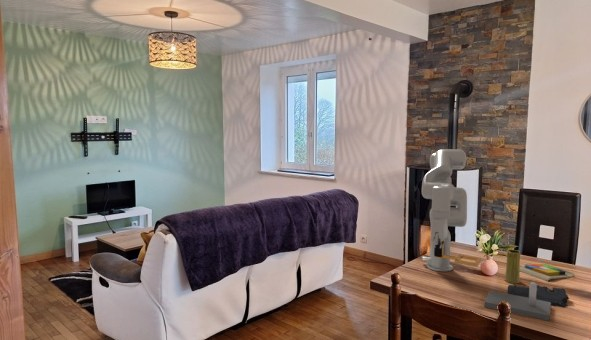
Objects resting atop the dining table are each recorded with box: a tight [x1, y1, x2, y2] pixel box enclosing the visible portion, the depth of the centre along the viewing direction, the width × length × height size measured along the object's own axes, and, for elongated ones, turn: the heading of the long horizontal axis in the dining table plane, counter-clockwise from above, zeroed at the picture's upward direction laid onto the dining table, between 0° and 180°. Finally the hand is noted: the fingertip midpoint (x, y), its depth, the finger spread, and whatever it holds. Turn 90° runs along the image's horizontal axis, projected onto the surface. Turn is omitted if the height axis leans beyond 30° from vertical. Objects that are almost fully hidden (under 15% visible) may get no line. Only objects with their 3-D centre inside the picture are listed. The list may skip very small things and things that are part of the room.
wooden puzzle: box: [520, 262, 575, 282], centre depth 201 cm, size 18×19×4 cm
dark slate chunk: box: [507, 284, 570, 308], centre depth 172 cm, size 15×22×5 cm
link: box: [435, 242, 482, 267], centre depth 175 cm, size 18×9×6 cm, turn 56°
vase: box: [504, 249, 521, 284], centre depth 190 cm, size 6×6×14 cm
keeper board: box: [483, 281, 552, 322], centre depth 162 cm, size 22×14×11 cm, turn 56°
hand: (439, 255), depth 179 cm, fingers closed on link, 3 cm apart
